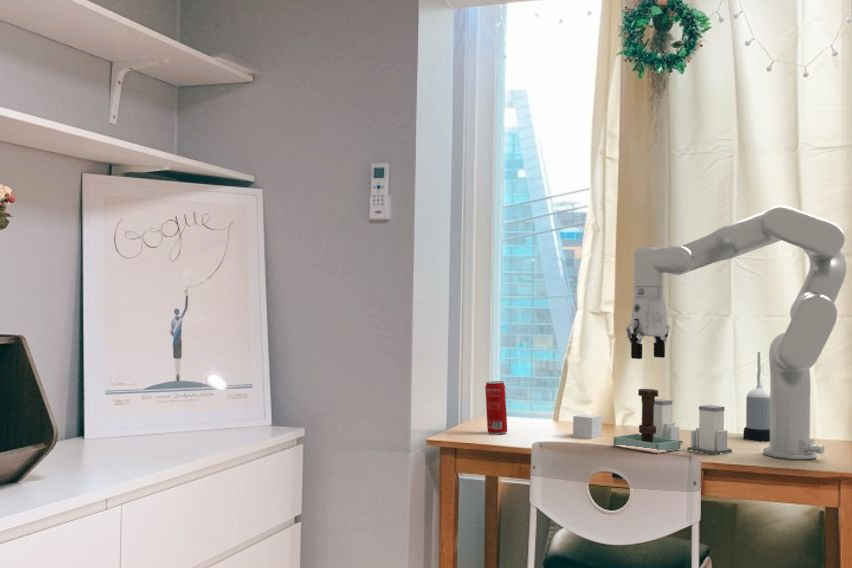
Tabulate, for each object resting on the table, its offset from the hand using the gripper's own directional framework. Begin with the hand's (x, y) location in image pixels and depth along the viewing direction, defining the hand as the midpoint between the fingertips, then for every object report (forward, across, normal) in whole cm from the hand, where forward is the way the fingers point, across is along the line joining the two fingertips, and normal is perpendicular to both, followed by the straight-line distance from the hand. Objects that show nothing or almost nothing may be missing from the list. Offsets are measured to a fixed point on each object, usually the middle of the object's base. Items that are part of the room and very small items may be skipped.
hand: (648, 357), depth 232 cm
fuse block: (+24, +10, -5) cm, 26 cm away
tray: (+24, 0, 0) cm, 24 cm away
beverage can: (+24, -16, +41) cm, 50 cm away
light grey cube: (+24, +2, +22) cm, 33 cm away
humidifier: (+24, +40, -9) cm, 48 cm away
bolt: (+24, 0, 0) cm, 24 cm away
